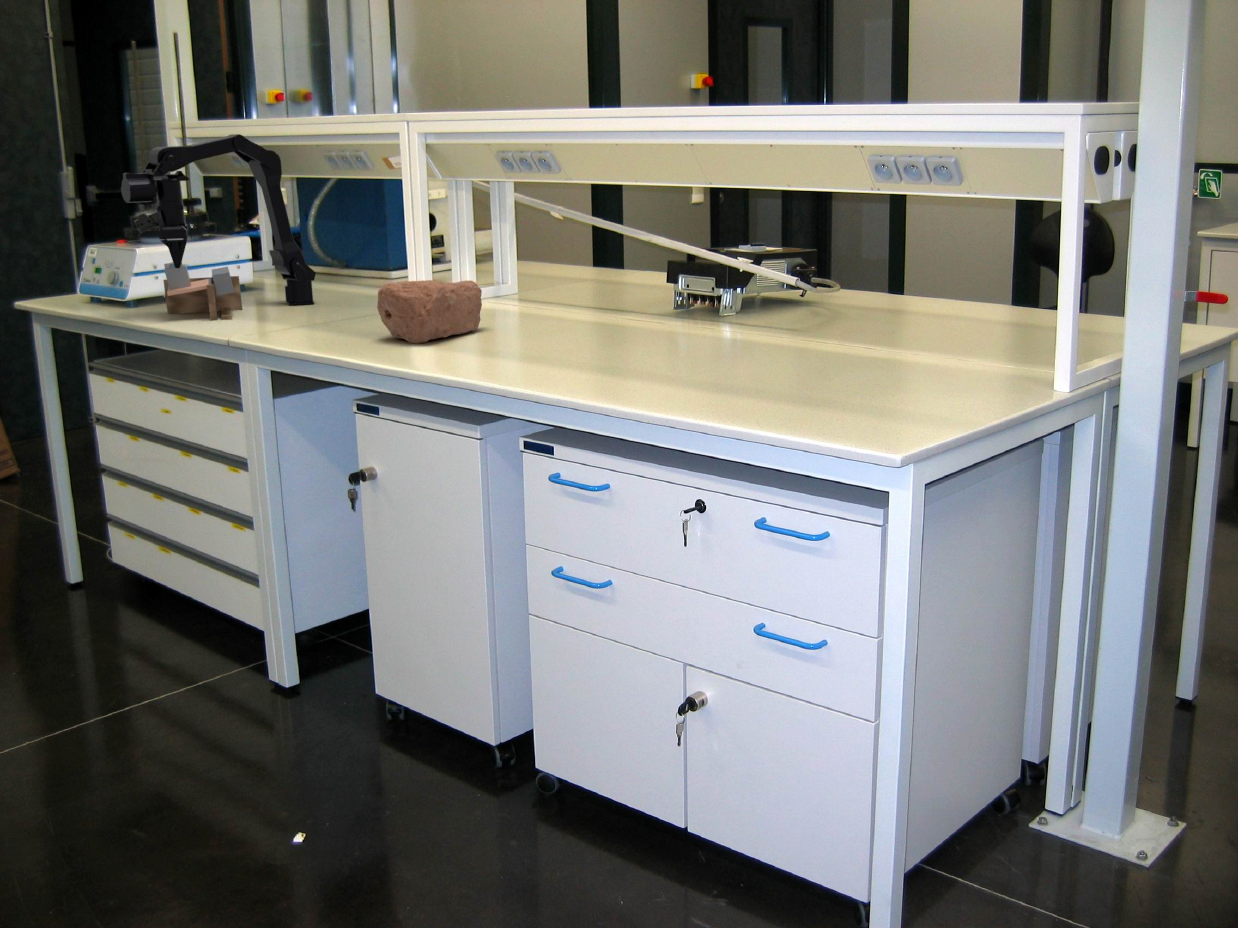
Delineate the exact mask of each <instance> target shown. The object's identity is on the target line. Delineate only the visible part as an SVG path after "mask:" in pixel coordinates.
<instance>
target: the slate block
mask: <svg viewBox="0 0 1238 928" xmlns="http://www.w3.org/2000/svg"><path fill="white" fill-rule="evenodd" d="M163 266H164V268H163V269H164V270H163V271H164V274H165V278H166V280H167V282H168V286H169V289H170V290H174V289H179V288H185V287H190V286H191V281H190V278H191V277H190V274H189V271H188V270H189V269H188V267H187V263H183V261H182V262H181V266H180V268H175V266H174V263H173V261H172V262H167V263H164V264H163Z"/></svg>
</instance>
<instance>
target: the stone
mask: <svg viewBox="0 0 1238 928" xmlns="http://www.w3.org/2000/svg"><path fill="white" fill-rule="evenodd" d="M482 291H483V290H482V288H481V287H480V286H479V285H478V283H476V281H474V280H461V281H458V282H457V281H456V282H443V281H441V280H436V279H426V280H411V281H410V280H403V281H402V280H401V281H395V282H394V281H393V282H387V283H383V284H382V286H381V287H379V289H378V292H377V311H378V314H379V316H380V319H381V322H382V324H383V325H384V326H385V327H386V328H387V330H388V332H389V333H390V335H391V336H392V337H394V338H398V339H402V340H403V339H404V340H405V341H407V342H408V343H409V344H410V343H411V344H422V343H423V344H424V343H427V342H429V340H435V339H439V338H440V339H441V338H446V337H449V336H454V335H455V336H456V335H457V336H458V335H461V334H466V333H469V332H473V331H476V330H478V327H479V326H480V322H481V320H482V319H481V311H482V307H483V306H482V305H483V303H482V298H481V297H482Z"/></svg>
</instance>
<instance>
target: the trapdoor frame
mask: <svg viewBox="0 0 1238 928" xmlns="http://www.w3.org/2000/svg"><path fill="white" fill-rule="evenodd" d="M230 277H231V281H232V285H233V289H234V293H230V294H224V295H219V296H217V293H216V289H215V285H214V281H213V277H212V276H210V277H192V278H191V277H190V281H191V282H194V281H199V280H205V279H209V278H211V279H212V285H207V289H203V290H198V291H192V292H187V293H182V294H176V295H171V296H168V295H167V290H168V282H167V279H163V288H164V297H165V303H166V304H165V305H166V313H167V314H168V315H172V314H173V315H175V314H176V315H177V314H191V313H207V312H209V317H210V321H218V313H217V312H220V313H221V320H225V321H226V320H228V321H229V320H233V314H232V311H242V310H243V304H242V303H243V302H242V293H241V285H240V284H241V283H240V276H239V275H234V276H233V275H230Z"/></svg>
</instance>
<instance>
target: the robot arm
mask: <svg viewBox="0 0 1238 928" xmlns="http://www.w3.org/2000/svg"><path fill="white" fill-rule="evenodd" d="M230 153H234V154H235V155H236V156H237V157H238V158H239V159H241V160H242V161H244V163H247V164H248V166H249V169H250V171H251V173H252V176H253V177H254V179H255V180H256V182H257V183H258V185H259V186H260V188H261V191H262V195H263V199H264V203H265V207H266V211H267V215H268V219H269V223H270V226H271V231H272V235H273V238H274V247H273V248H274V249H270V250H269V251H268V253H269V255H270V258H271V263H272V264H271V265H272V266H273V267H274V268H275V270H276V271H277V272H278V273H280V274H281V277H282V279H283V280H285V281H286V282H285V283H286V285H284V295H285V302H286V303H287V304H288V306H295V305H297V306H299V305H301V306H302V305H313V304H315V300H314V298H313V297H314V295H313V284H312V281H313V282H314V281H315V279H316V278H315V277H316V275H317V274H316V271H315V270H313V269H312V268H311V267H310V266H309V265H308V264H307V263H306V259H305V257H304V255H303V252H302V250H301V248H300V247H299V245H298V244H297V243H296V241H295V239H294V235H293V232H292V228H291V224H290V219H289V215H288V212H287V207H286V204H285V199H284V195H283V191H282V187H281V181H282V175H283V170H282V160H281V157H280V155H279V154H278V153H277V152H275V151H274V150H271V149H266V148H265V147H262V146H261V145H259V144H257V143H255V142H253V141H251V140H249V139H248V138H246V137H245V136H244V135H242V134H241V133H240V134H238V133H237V134H236V133H235V134H234V133H233V134H228V135H227V136H223V137H219V138H214V139H210V140H209V139H208V140H205V141H202V142H197V143H193V144H189V145H177V146H176V145H174V146H171V145H170V146H157V147H153V148H152V149H151V150H150V153H149V155H148V162H146V165H145V167H144V168H143V169H142V171H141V172H140V173H132V172H124V173H122V181H121V187H120V192H121V197H122V198H123V201H124V202H125V203H126V204H128V203H129V204H130V203H131V204H132V203H149V202H150V203H151V202H153V200H154V199H155V198H156V200H157V201H156V203H157V206H156V211H155V212H152V213H150V214H146V213H145V212H143V213H142V214H138V215H137V216H138V217H137V219H135V220H134V224H135V226H136V228H137V230H138V232H139V234H143V233H146V232H147V231H148V230H151V229H153V228H157V227H158V228H159V230H158V238H159V240H160V243H162V244H164V245H165V246H167V248H168V252H169V254H170V257H171V260H172V262H173V263H174V266H175V268H180V266H181V262H182V263H183V258H184V254H185V250H186V247H187V243H188V236H189V228H188V227H189V226H188V224H187V223H186V218H185V206H184V201H183V199H184V198H183V193H182V185H181V182H185V181H186V182H188V181H190V177H188V176H187V175H186V174H184V173H183V171H181V170H180V169H183V168H185V167H187V166H188V165H190V164H192V163H194V162H196V161H200V160H204V159H208V158H209V159H210V158H214V157H217V156H222V155H225V154H230ZM170 172H174V173H171V174H169V173H170ZM167 173H168V174H167ZM154 177H155V179H154ZM157 177H161V178H157ZM156 178H157V179H156Z"/></svg>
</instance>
